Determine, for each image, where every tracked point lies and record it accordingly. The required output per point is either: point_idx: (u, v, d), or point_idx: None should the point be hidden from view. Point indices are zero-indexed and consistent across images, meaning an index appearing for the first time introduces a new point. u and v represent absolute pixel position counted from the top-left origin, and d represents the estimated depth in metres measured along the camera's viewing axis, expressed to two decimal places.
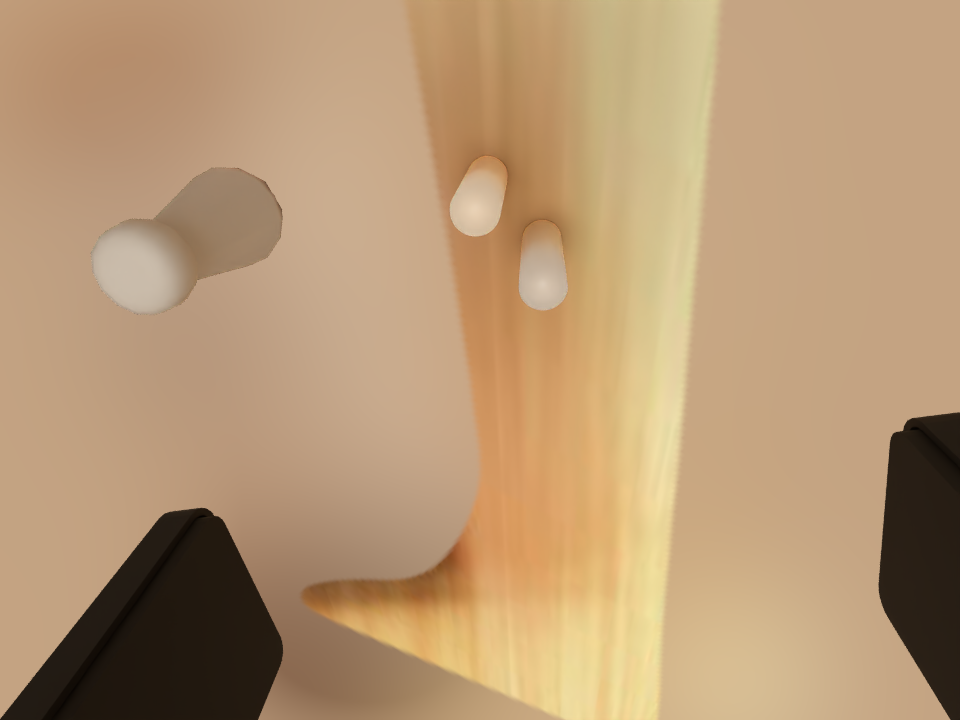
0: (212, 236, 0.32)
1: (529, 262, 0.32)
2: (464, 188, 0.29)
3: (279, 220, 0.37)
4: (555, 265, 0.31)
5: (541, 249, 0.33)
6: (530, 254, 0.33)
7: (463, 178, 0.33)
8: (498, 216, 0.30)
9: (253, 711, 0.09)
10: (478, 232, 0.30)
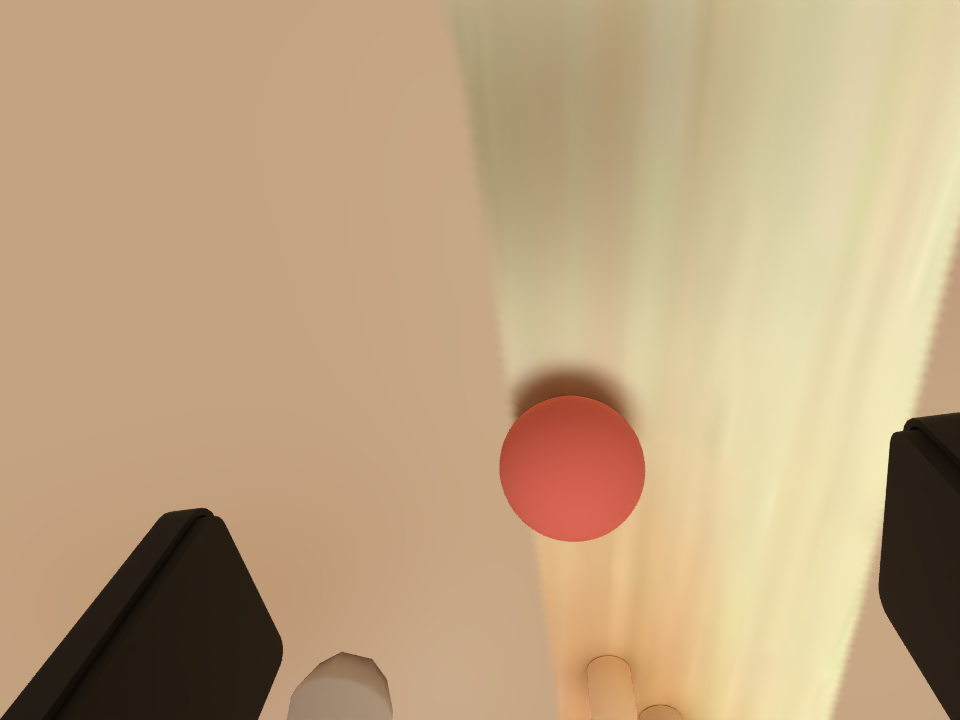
0: None
1: None
2: None
3: None
4: None
5: None
6: None
7: None
8: None
9: (253, 711, 0.09)
10: None
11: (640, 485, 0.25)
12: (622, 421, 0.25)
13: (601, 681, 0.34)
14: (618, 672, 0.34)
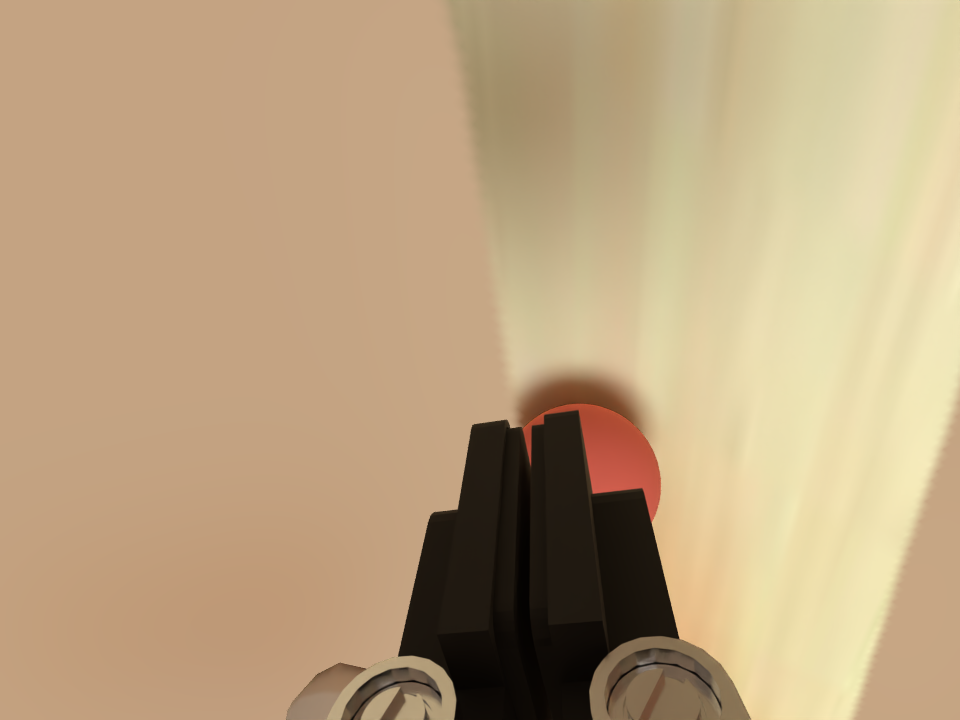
0: None
1: None
2: None
3: None
4: None
5: None
6: None
7: None
8: None
9: None
10: None
11: (656, 502, 0.23)
12: (636, 433, 0.23)
13: None
14: None
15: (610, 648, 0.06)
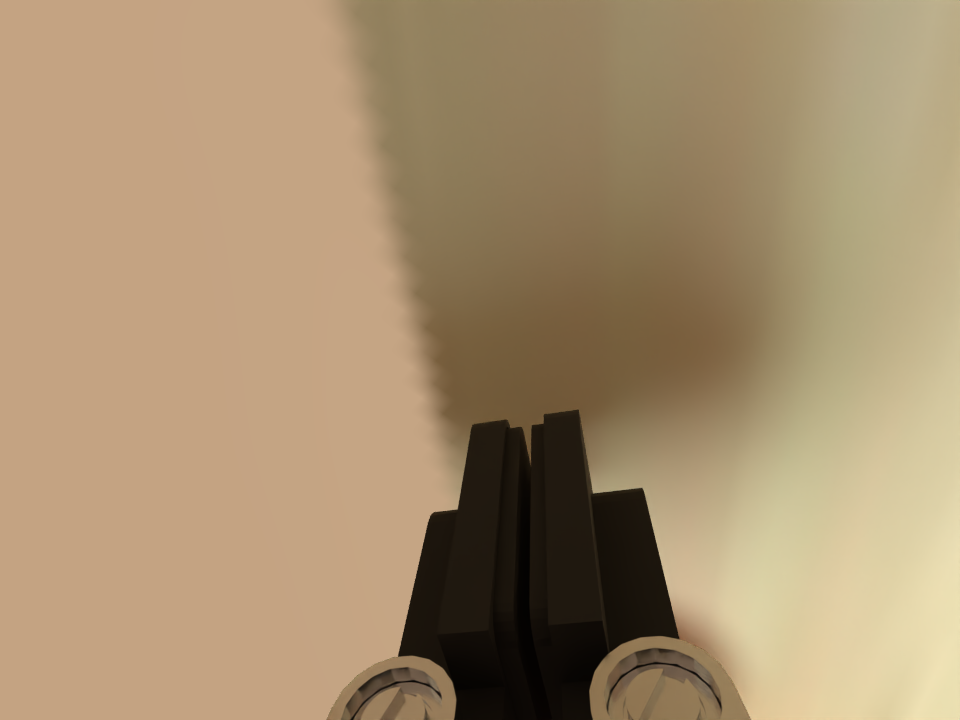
0: None
1: None
2: None
3: None
4: None
5: None
6: None
7: None
8: None
9: None
10: None
11: None
12: None
13: None
14: None
15: (610, 648, 0.06)
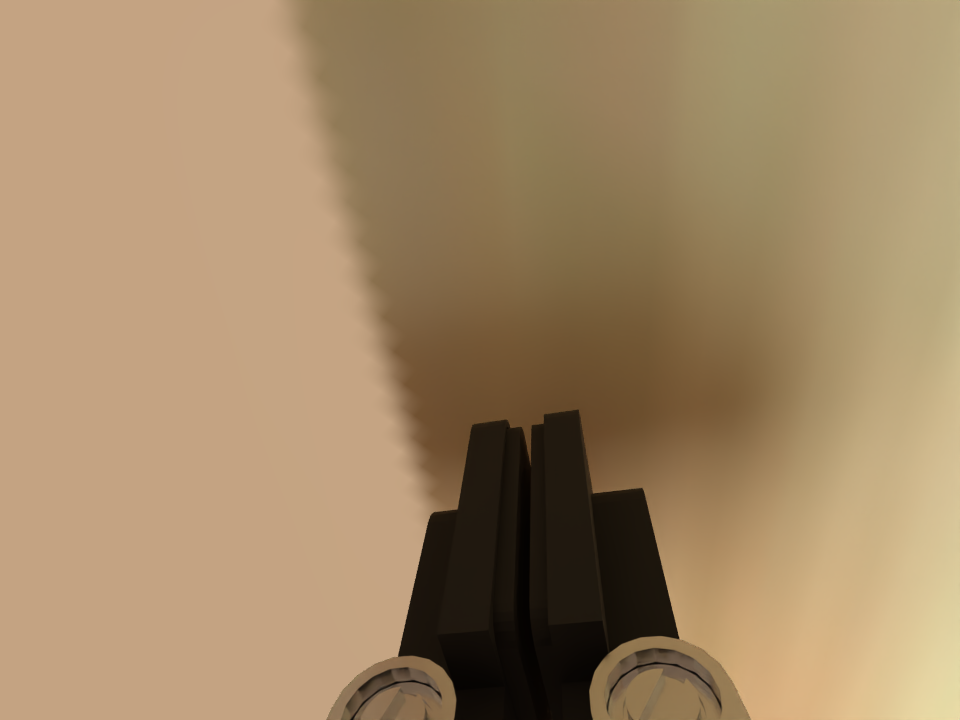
0: None
1: None
2: None
3: None
4: None
5: None
6: None
7: None
8: None
9: None
10: None
11: None
12: None
13: None
14: None
15: (610, 648, 0.06)
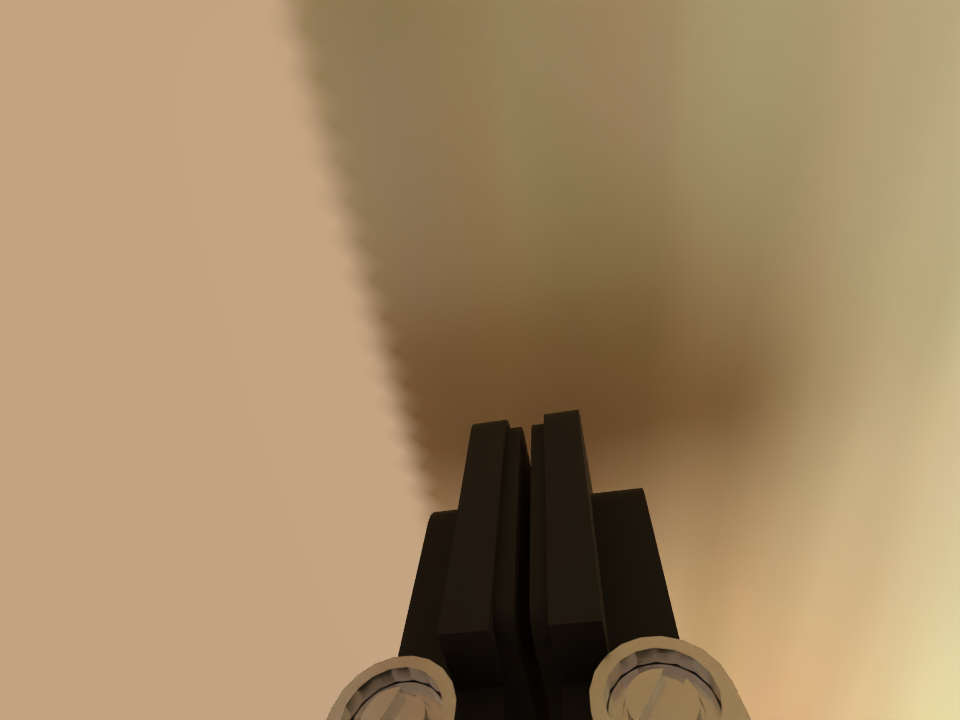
0: None
1: None
2: None
3: None
4: None
5: None
6: None
7: None
8: None
9: None
10: None
11: None
12: None
13: None
14: None
15: (610, 648, 0.06)
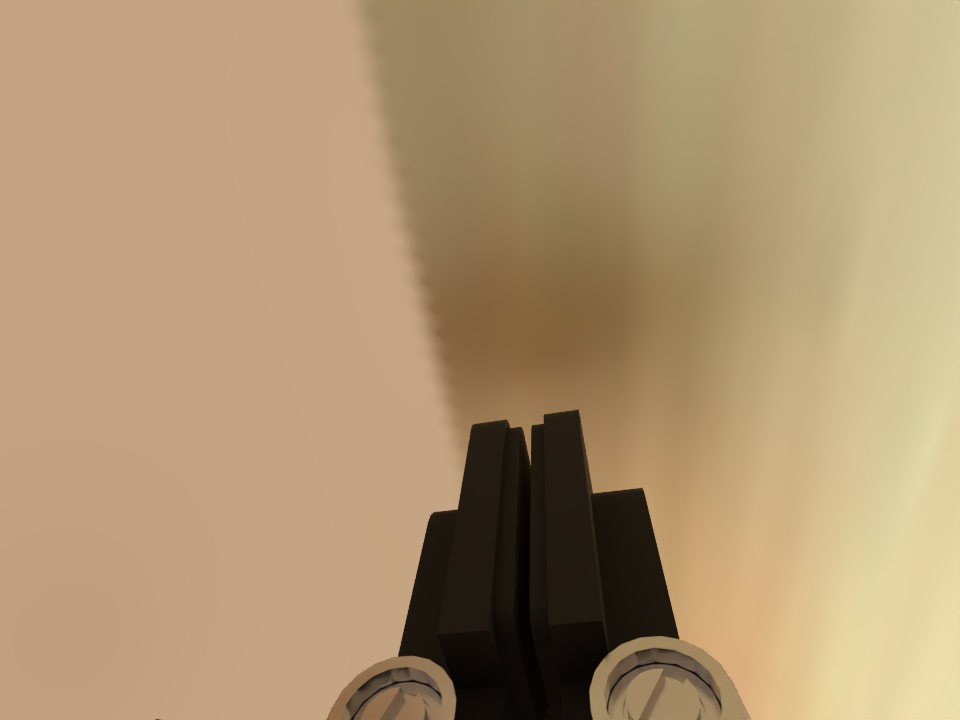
0: None
1: None
2: None
3: None
4: None
5: None
6: None
7: None
8: None
9: None
10: None
11: None
12: None
13: None
14: None
15: (610, 648, 0.06)
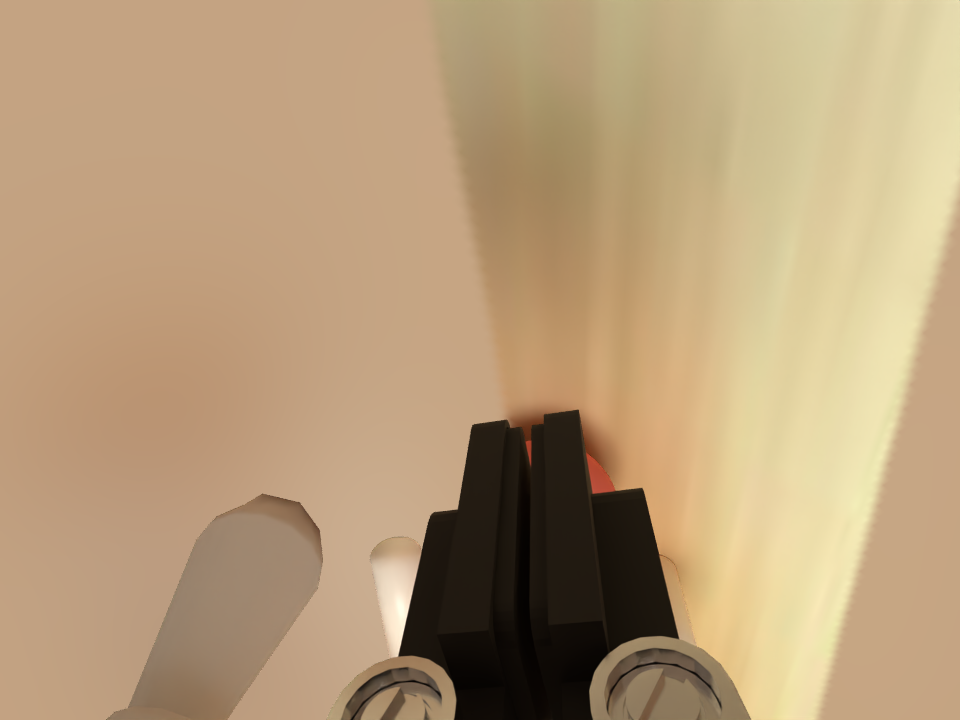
0: (238, 672, 0.23)
1: None
2: None
3: (319, 570, 0.29)
4: None
5: None
6: None
7: None
8: None
9: None
10: None
11: None
12: None
13: None
14: (373, 574, 0.30)
15: (610, 648, 0.06)
